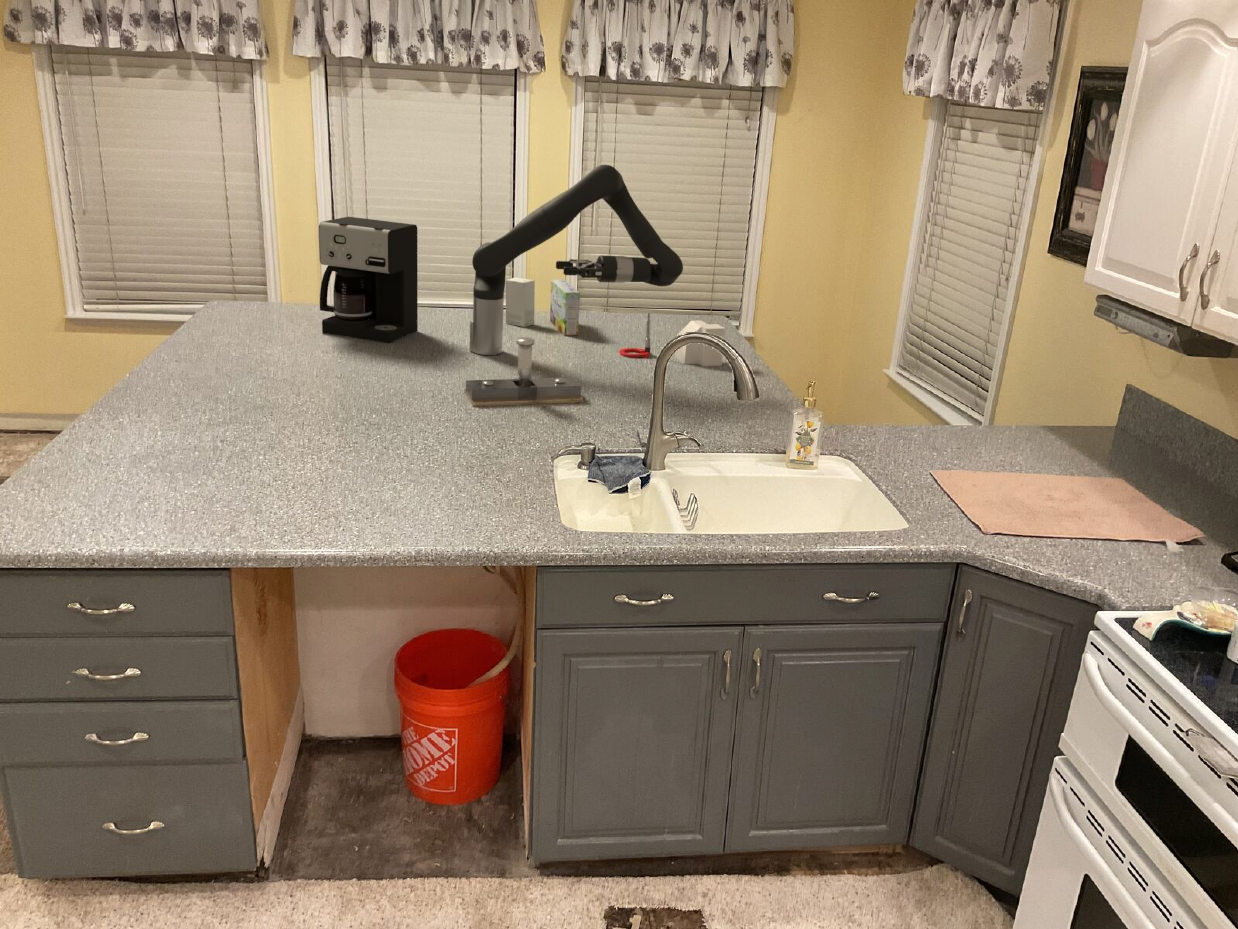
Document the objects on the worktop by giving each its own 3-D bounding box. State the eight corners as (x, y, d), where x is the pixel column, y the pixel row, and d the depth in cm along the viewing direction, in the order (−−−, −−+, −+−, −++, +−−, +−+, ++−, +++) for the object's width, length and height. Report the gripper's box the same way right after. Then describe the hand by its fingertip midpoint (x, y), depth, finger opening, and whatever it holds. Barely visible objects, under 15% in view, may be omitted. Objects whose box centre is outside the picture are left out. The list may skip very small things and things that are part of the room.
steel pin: (512, 394, 273) (513, 340, 267) (519, 390, 277) (521, 336, 272) (528, 397, 271) (529, 342, 266) (535, 392, 275) (537, 339, 270)
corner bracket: (721, 365, 320) (725, 328, 316) (688, 366, 316) (692, 329, 311) (706, 356, 329) (710, 320, 325) (674, 357, 325) (678, 320, 321)
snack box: (548, 321, 360) (550, 278, 354) (563, 321, 361) (565, 279, 356) (563, 336, 341) (565, 291, 336) (579, 336, 343) (581, 291, 337)
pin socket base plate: (473, 406, 264) (473, 389, 263) (464, 392, 275) (464, 376, 273) (582, 402, 274) (583, 385, 272) (570, 388, 285) (571, 373, 283)
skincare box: (534, 324, 353) (536, 280, 347) (523, 327, 348) (524, 282, 342) (515, 320, 357) (517, 276, 351) (503, 323, 352) (505, 278, 346)
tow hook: (618, 358, 321) (649, 359, 321) (619, 314, 316) (651, 316, 316) (619, 351, 330) (650, 352, 329) (620, 308, 325) (651, 310, 324)
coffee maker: (309, 331, 323) (305, 220, 310) (342, 319, 340) (339, 213, 328) (388, 343, 316) (387, 230, 303) (418, 331, 333) (417, 223, 321)
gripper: (608, 251, 295) (554, 249, 290) (623, 260, 282) (567, 259, 277) (606, 277, 297) (552, 276, 292) (621, 287, 285) (565, 286, 280)
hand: (560, 267), depth 285 cm, fingers open, 8 cm apart
